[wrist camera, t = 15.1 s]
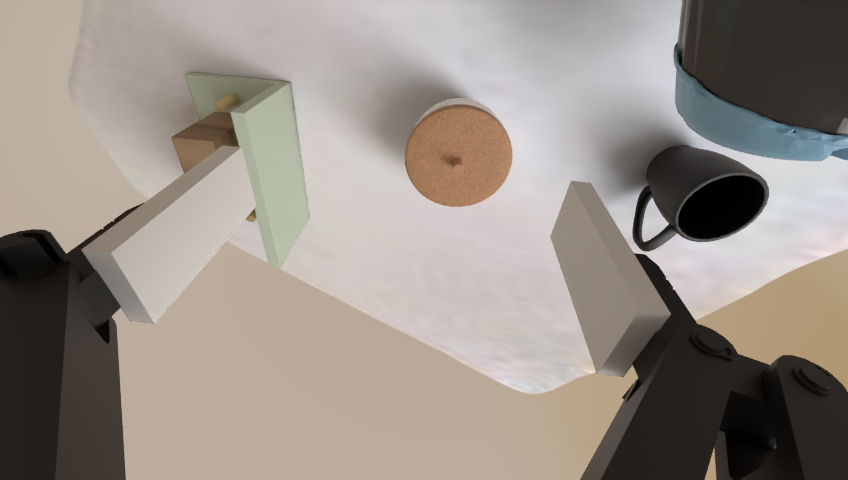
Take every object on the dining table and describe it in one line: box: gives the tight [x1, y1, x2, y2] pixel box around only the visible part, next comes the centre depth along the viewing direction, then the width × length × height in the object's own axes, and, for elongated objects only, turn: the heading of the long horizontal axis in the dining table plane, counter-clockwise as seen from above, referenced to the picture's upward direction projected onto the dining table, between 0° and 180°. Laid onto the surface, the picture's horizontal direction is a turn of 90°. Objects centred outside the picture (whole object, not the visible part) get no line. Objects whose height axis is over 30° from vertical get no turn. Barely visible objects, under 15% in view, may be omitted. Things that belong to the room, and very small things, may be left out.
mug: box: [633, 146, 769, 251], centre depth 39 cm, size 8×12×10 cm
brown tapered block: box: [171, 112, 239, 174], centre depth 40 cm, size 10×4×8 cm, turn 175°
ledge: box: [185, 72, 310, 269], centre depth 40 cm, size 18×11×11 cm, turn 175°
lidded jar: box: [405, 98, 512, 207], centre depth 38 cm, size 11×11×9 cm
